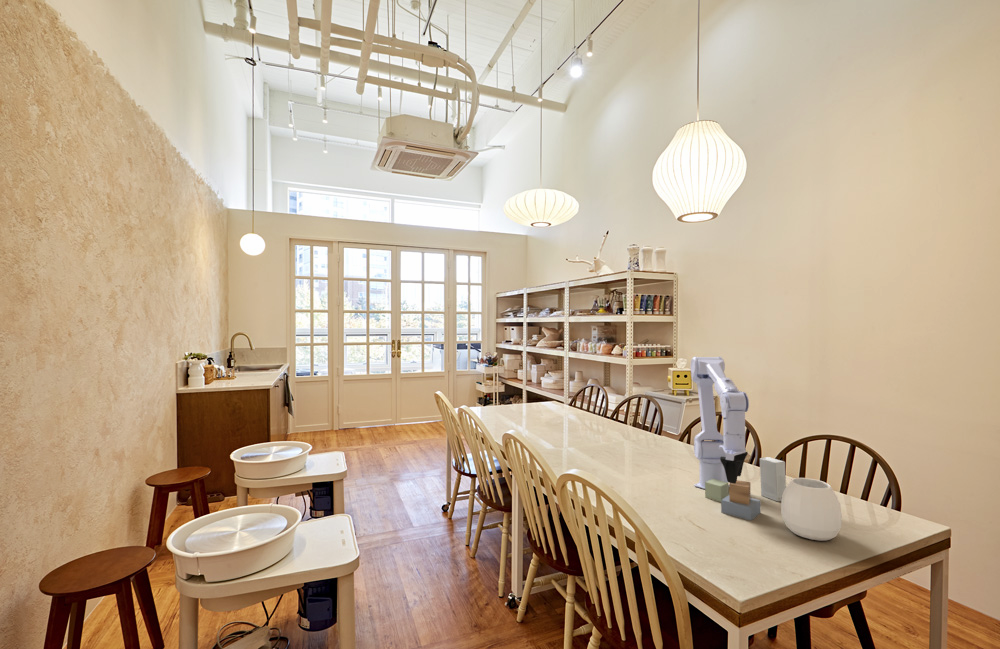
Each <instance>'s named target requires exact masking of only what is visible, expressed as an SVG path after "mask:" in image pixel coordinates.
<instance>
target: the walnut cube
mask: <svg viewBox="0 0 1000 649" xmlns="http://www.w3.org/2000/svg"><path fill="white" fill-rule="evenodd" d="M728 485H729V487H728V495H729V501H731V502H736V503H742V504H747V505H749V503H750V498H751V482H750V481H744V480H738V479H737V481H736V484H735V483H728Z"/></svg>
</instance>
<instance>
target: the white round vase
mask: <svg viewBox="0 0 1000 649" xmlns="http://www.w3.org/2000/svg"><path fill="white" fill-rule="evenodd" d="M780 502H781V503H780V508H781V509H780V513H781V517H782V520H783V522H784V524H785V526H786V528H788V529H789V531H791V532H792V533H793V534H794V535H796V536H799V537H802V538H805V539H807V540H808V539H809V540H813V541H814V540H815V541H819V542H820V541H829V540H832V539H835V537H837V536H838V535H839V532H840V530H841V528H842V523H843V522H842V521H843V520H842V518H843V517H842V516H843V515H842V514H843V513H842V506H841V502H840V500H839V498H838V495H837V494H836V492H835V491H834V489H833V487H832V486H831V485H830V483H828V482H825V481H822V480H820V479H814V478H810V477H809V478H808V477H795V478H792V479H791V480H790V481H789V482H788V484H786V488H785V490H784V492H783V495H782V501H780Z"/></svg>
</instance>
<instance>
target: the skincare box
mask: <svg viewBox="0 0 1000 649" xmlns="http://www.w3.org/2000/svg"><path fill="white" fill-rule="evenodd" d="M759 473H760V474H759V476H760V494H761V496H762V497H765V498H767V499H771V500H772V501H775V502H782V495H783V492H784V490H785V488H786V487H787V482H786V481H787V480H786V478H787V477H786V462H785V461H784V460H780V459H777V458H773V457H770V456H766V457H760V458H759Z"/></svg>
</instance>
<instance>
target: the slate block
mask: <svg viewBox="0 0 1000 649" xmlns="http://www.w3.org/2000/svg"><path fill="white" fill-rule="evenodd" d="M720 503H721V504H720V505H721V506H720V507H721V508H720V510H721V511H720V512H721V513H722V514H725V515H729V516H733V517H735V518H736V517H737V518H739V519H743V520H746V521H753V520H754V519H755V518H756V517H757V516H758V515H760V513H761V500H760V499H757V498H754V497H750V503H749V505H747V504H742V503H736V502H731V501H729V494H728V496H727V497H725V498H724V499H722V500H721V502H720Z"/></svg>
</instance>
